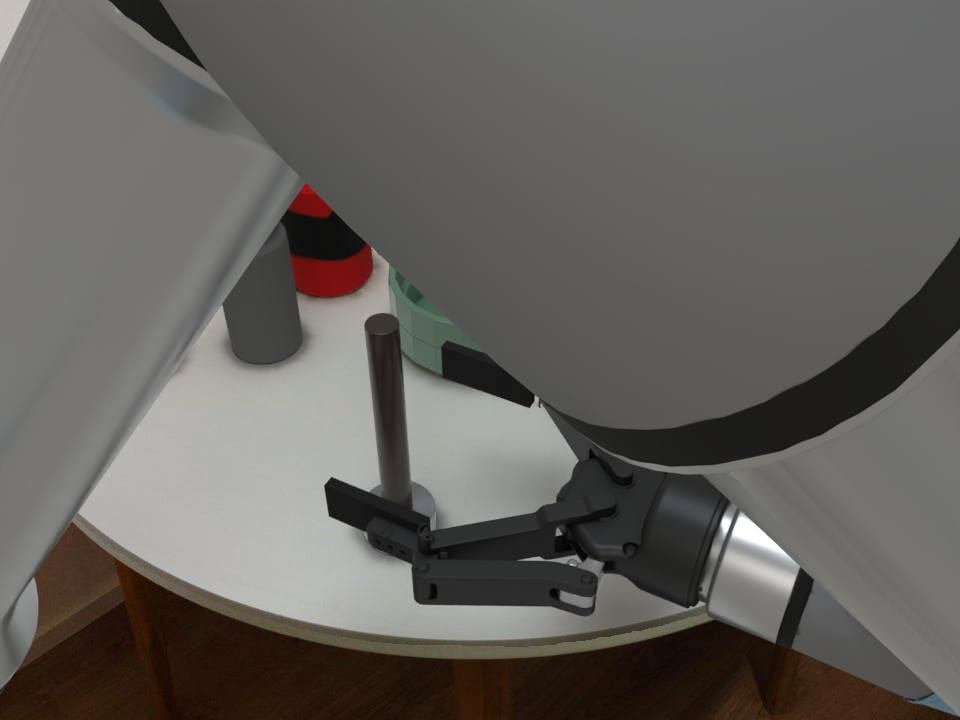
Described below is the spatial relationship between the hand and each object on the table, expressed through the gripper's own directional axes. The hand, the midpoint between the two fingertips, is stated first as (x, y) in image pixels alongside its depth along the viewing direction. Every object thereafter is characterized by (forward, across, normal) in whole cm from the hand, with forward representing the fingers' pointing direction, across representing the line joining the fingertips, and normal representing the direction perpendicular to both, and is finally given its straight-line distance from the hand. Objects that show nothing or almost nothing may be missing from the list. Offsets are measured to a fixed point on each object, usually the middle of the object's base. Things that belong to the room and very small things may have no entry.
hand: (390, 422), depth 66 cm
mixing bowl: (+5, +21, -10) cm, 24 cm away
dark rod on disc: (0, 0, -10) cm, 10 cm away
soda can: (+20, +22, -10) cm, 32 cm away
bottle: (+20, +12, -10) cm, 25 cm away
